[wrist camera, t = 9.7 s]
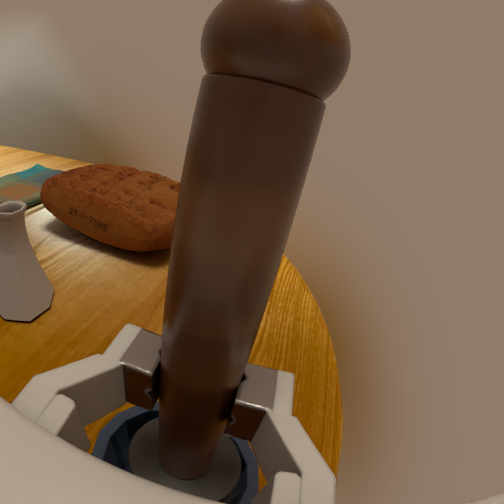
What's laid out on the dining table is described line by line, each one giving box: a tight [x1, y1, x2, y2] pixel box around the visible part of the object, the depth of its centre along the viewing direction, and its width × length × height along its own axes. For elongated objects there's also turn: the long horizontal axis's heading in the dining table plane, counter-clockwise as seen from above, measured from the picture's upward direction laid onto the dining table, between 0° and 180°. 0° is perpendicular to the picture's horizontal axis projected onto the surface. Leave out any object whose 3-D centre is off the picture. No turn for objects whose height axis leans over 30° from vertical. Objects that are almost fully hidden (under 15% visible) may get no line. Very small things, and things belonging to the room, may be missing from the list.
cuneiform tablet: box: [40, 163, 180, 252], centre depth 41 cm, size 22×17×8 cm
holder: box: [92, 402, 259, 504], centre depth 12 cm, size 8×8×6 cm
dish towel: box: [0, 164, 65, 208], centre depth 45 cm, size 17×23×2 cm
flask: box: [0, 201, 54, 321], centre depth 22 cm, size 7×7×10 cm
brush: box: [128, 0, 351, 503], centre depth 8 cm, size 5×5×19 cm
